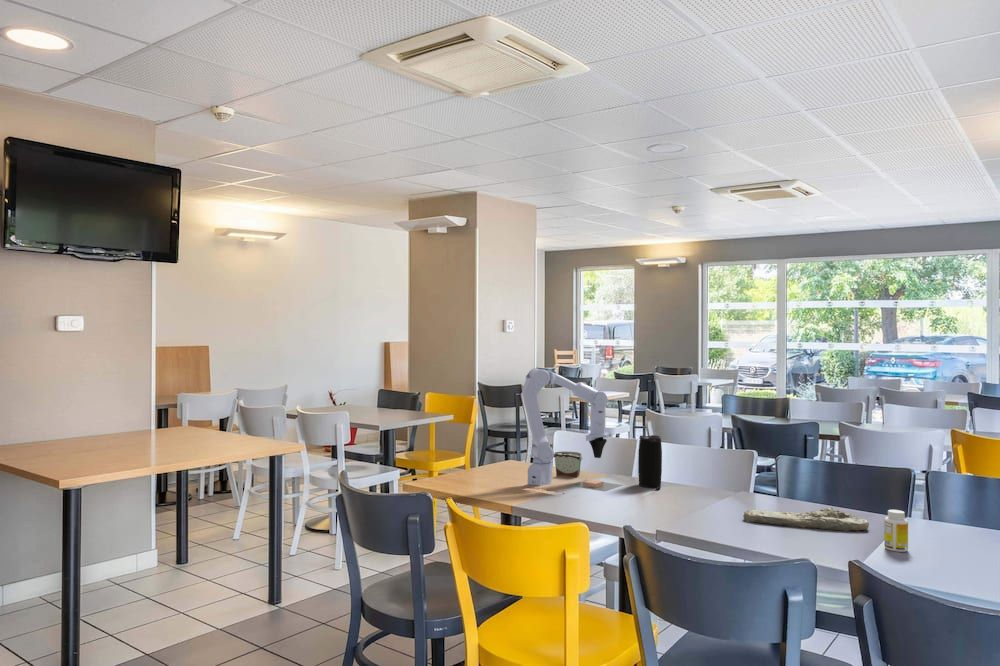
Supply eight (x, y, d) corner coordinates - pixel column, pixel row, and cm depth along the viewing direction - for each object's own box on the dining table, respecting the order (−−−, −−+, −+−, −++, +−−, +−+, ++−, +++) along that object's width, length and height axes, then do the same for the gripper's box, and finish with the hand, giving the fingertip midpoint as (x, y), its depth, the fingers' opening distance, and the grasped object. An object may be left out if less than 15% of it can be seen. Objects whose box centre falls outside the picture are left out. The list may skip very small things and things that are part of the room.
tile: (603, 485, 264) (596, 488, 259) (590, 483, 267) (582, 486, 263) (603, 481, 264) (596, 483, 259) (590, 479, 267) (582, 481, 263)
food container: (587, 478, 284) (588, 453, 284) (581, 480, 278) (581, 455, 279) (560, 474, 290) (560, 450, 290) (553, 477, 285) (553, 452, 285)
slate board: (605, 494, 254) (605, 491, 254) (566, 488, 264) (566, 485, 264) (623, 488, 265) (623, 485, 265) (586, 482, 275) (586, 479, 275)
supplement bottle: (910, 549, 191) (910, 511, 191) (904, 554, 186) (905, 514, 187) (887, 545, 194) (887, 507, 194) (881, 549, 190) (881, 511, 190)
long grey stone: (743, 520, 226) (744, 530, 216) (742, 504, 225) (743, 513, 216) (865, 524, 215) (872, 534, 206) (864, 507, 215) (871, 516, 205)
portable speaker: (655, 486, 270) (656, 434, 270) (665, 491, 261) (666, 437, 261) (634, 486, 268) (634, 434, 268) (643, 491, 259) (644, 438, 259)
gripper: (597, 424, 265) (597, 461, 265) (616, 421, 277) (615, 456, 277) (581, 423, 270) (580, 459, 270) (600, 420, 281) (600, 454, 281)
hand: (597, 457), depth 273 cm, fingers closed
